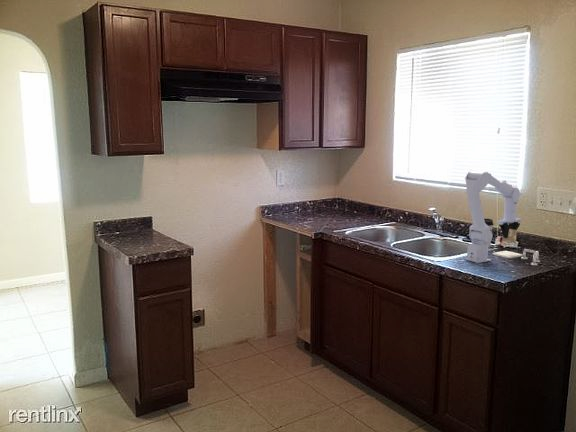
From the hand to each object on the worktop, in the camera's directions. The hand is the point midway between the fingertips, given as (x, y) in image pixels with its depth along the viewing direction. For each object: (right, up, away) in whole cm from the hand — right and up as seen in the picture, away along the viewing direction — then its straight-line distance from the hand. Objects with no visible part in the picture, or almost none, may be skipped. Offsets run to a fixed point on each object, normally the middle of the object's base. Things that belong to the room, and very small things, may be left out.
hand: (508, 237), depth 258 cm
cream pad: (0, -9, +2) cm, 9 cm away
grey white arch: (+5, -11, -11) cm, 17 cm away
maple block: (0, -2, 0) cm, 2 cm away
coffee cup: (-4, -6, +22) cm, 23 cm away
